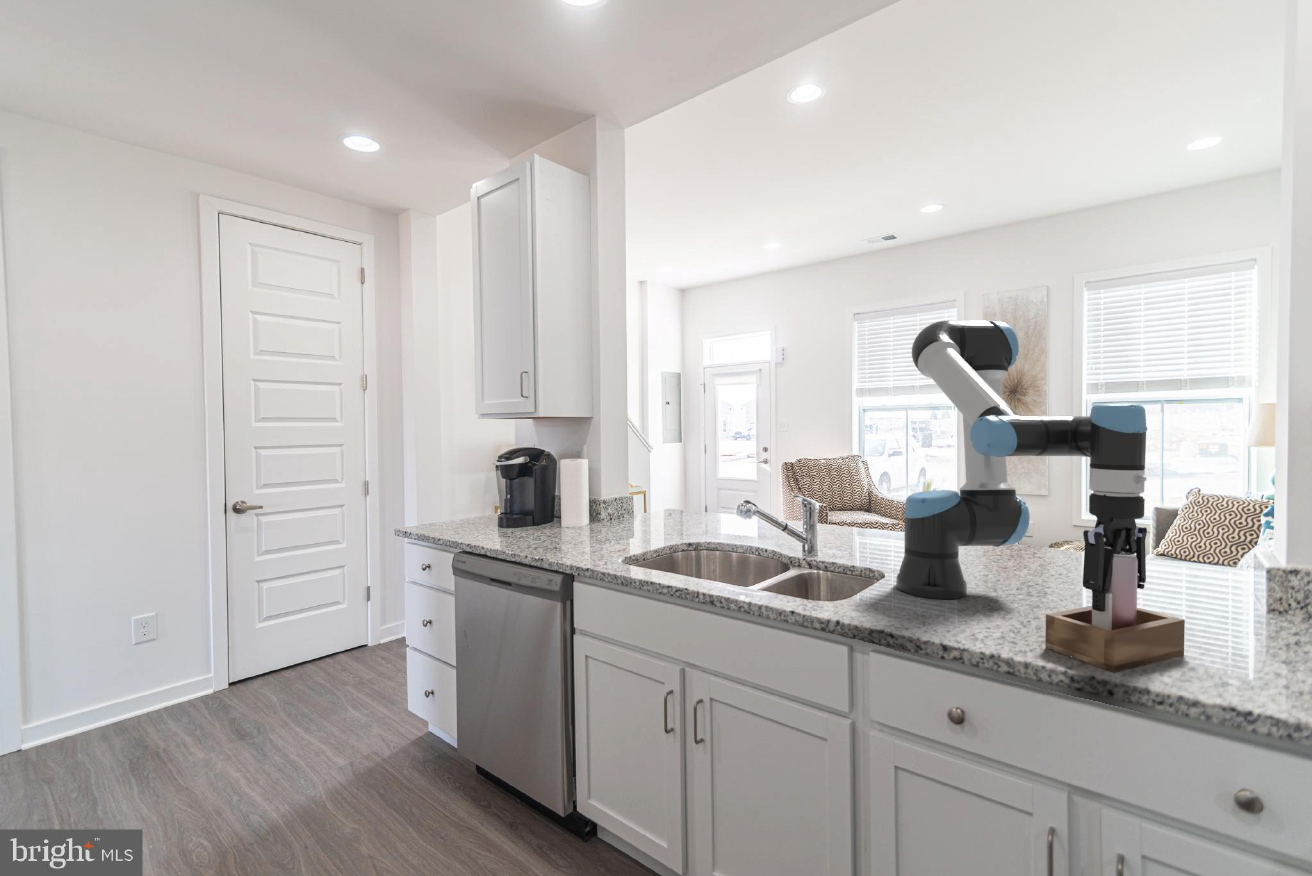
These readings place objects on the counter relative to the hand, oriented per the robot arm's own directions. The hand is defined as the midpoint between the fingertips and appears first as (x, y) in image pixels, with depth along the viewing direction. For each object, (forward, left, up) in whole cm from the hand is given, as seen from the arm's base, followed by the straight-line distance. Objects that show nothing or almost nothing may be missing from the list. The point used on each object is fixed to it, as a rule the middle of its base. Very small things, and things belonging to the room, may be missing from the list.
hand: (1113, 626), depth 102 cm
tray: (0, 0, -4) cm, 4 cm away
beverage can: (0, 0, -2) cm, 2 cm away
